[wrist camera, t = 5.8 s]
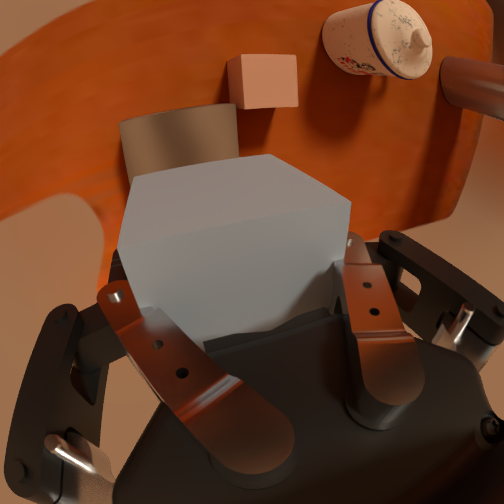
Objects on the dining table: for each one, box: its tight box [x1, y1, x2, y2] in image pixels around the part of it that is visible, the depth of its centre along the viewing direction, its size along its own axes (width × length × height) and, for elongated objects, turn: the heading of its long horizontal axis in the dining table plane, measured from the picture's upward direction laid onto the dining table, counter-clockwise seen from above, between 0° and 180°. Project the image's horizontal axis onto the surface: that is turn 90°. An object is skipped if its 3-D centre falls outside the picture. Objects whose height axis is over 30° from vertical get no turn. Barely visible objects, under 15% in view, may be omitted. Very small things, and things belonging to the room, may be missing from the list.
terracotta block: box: [227, 54, 298, 109], centre depth 22 cm, size 5×5×5 cm
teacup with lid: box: [322, 0, 432, 80], centre depth 20 cm, size 12×9×12 cm
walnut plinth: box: [119, 103, 239, 188], centre depth 25 cm, size 10×10×4 cm
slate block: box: [117, 154, 351, 351], centre depth 10 cm, size 6×6×6 cm
